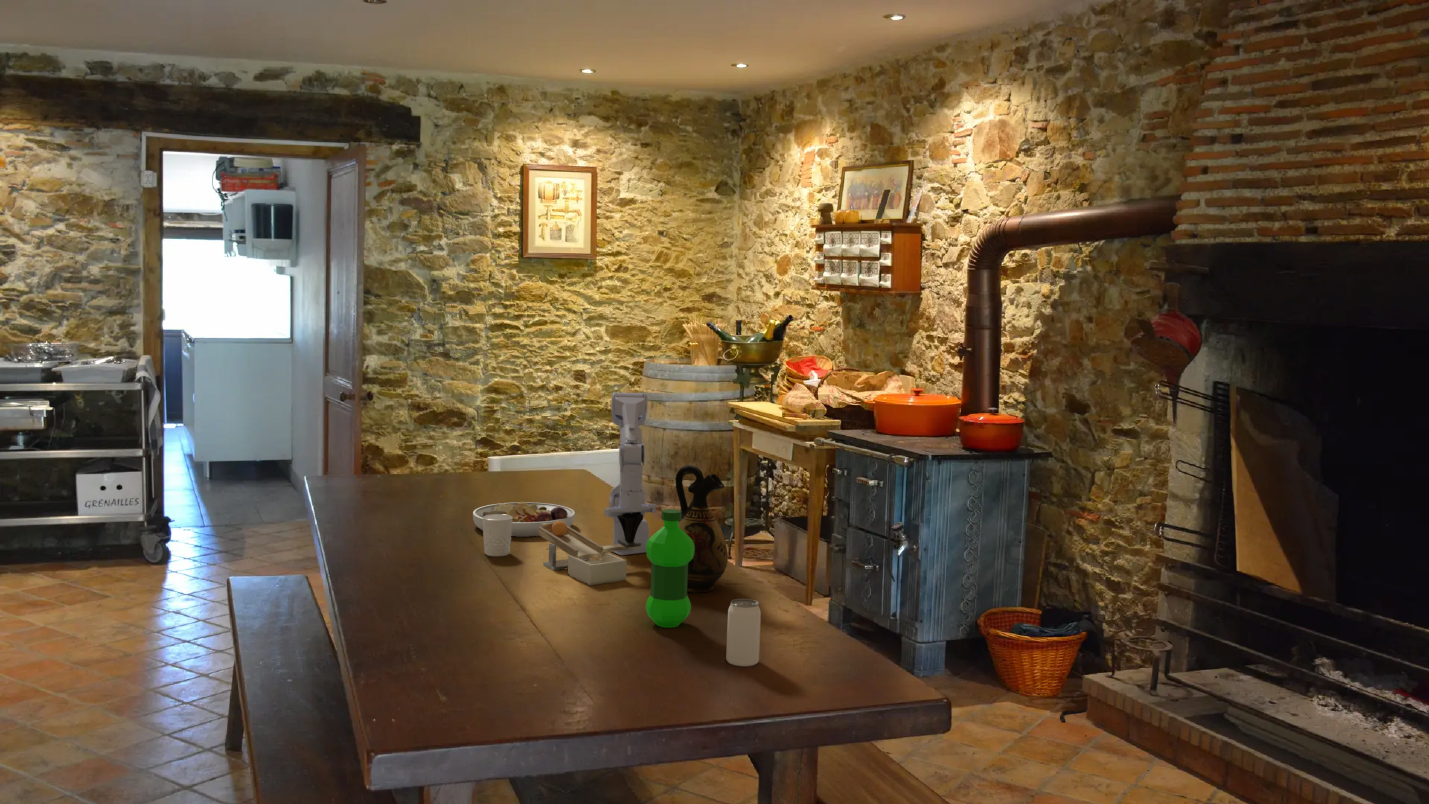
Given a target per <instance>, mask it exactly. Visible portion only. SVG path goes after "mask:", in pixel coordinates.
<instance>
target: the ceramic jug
mask: <svg viewBox="0 0 1429 804" xmlns="http://www.w3.org/2000/svg"><path fill="white" fill-rule="evenodd" d="M687 475H693V476H695V480H694V481H692V483H691V484H690V485H689V486H688V489H687V490H688V492H689V493H691V494H693V497H692V500H691V502H690V504H689V506H688V501H687V498H686V494H685V489H684V484H683V480H684V476H687ZM724 488H725V484H724V483H723V482H722V481H721V479H720V477H719V476H718V475H716V474H715V473H711V474H707V475H706V476H705V477H704V475H703V472H702V470H701V469H700V468H699V467H697V466H694V465H692V464H687V465H684V466H681V467H680V468H679V469H678V470H677V472H676V475H675V491H676V493H677V497H678V500H679V506H680V511H682V512H681V520H680V521H679V526H678V527H679V528H680V529H682V530H683V531H684V532H685V533H686V534H687V535H688V536H689V537H690V538H691V539H692V540H693V543H694V546H695V551H694V556H693V558H692V559H691V561H690V562H689V563H688V580H687V593H688V592H690V593H693V594H701V593H711V592H712V591H714V589H715V585H716V583H717V582H718V581H719V580H720V578H721V577H722V576H723V574H724V573H725V571H726V569H727V566H728V560H729V559H728V558H729V555H728V554H729V553H728V548H727V541H726V538H725V535H724V533H723V531H722V528H721V526H720V524H719V523H718V521H717V519H716V517H715V515H714V514H713V512H712V511H711V508H710V506H709V505H708V501H707V500H708V499H707V497H708V496H709V494H710V493H713V492H716V491H720V490H722V489H723V490H724Z"/></svg>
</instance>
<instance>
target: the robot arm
mask: <svg viewBox="0 0 1429 804" xmlns="http://www.w3.org/2000/svg"><path fill="white" fill-rule="evenodd" d="M647 414H648V394H647V393H646V392H616V391H613V393H612V394H611V420H612V424H615V425H616V426H618V430H619V434H620V435H619V436H620V437H619V440H620V445H619V448H618V463H619V484H617V485H616V486H614V487H613V488H612V489H611V490H610V492H609V503H608V504H609V507H605V508H604V510H603V511H604V512H603V514H604V515H603V516H605V517H606V518H611V519H613V530H612V531H613V534H612V535H613V536H612V545H616V544H619V543H618V540H620V539H625V541H627V542H629V543H630V542H634V539H635V540H637V541H638V542H640V543H641V546H639V548H636V549H628V550H620V551H612V553H615V554H617V555H619V556H628V555H635V554H643V553H646V544H647V542H648V539H649V538H650V527H649V526H650V525H649V523H648V521H647V520H646V519H645V516H646V514H647V513H652V514H653V513H656V512H657V507H656V506H657V504H652V503H646V492H645V490H644V489H643V471H644V470H643V466H644V465H645V461H646V447H645V444H644V441H643V433H642V428H641V427H640V426H642V425H644V424H645V422H646V419H647Z"/></svg>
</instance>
